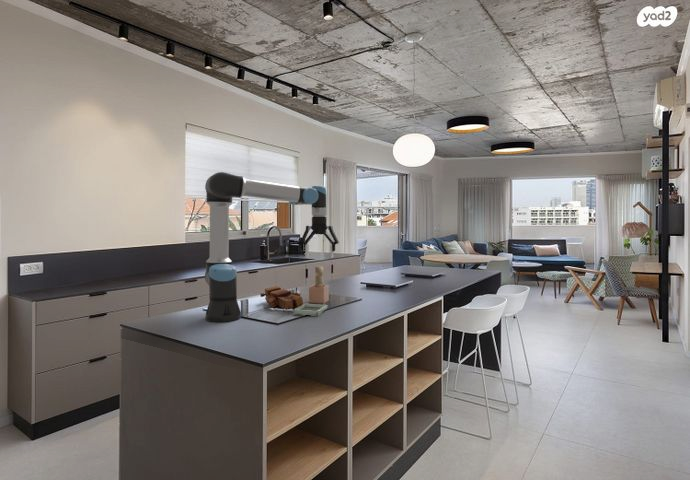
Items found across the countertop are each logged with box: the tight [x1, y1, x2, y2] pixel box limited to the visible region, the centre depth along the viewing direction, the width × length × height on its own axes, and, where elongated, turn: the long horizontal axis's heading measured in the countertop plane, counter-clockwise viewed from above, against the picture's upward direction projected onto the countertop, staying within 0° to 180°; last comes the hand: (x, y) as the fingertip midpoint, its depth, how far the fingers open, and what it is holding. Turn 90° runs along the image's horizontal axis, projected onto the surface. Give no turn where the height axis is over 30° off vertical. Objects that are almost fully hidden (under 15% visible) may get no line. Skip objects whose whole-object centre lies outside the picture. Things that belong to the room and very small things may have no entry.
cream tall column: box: [314, 266, 324, 287], centre depth 220 cm, size 4×4×18 cm
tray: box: [292, 303, 329, 317], centre depth 201 cm, size 12×14×2 cm
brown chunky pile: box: [259, 285, 305, 311], centre depth 214 cm, size 17×9×30 cm
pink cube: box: [308, 284, 330, 304], centre depth 221 cm, size 8×8×9 cm
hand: (319, 257), depth 220 cm, fingers open, 13 cm apart
